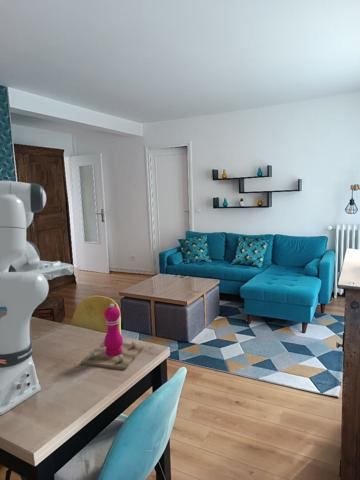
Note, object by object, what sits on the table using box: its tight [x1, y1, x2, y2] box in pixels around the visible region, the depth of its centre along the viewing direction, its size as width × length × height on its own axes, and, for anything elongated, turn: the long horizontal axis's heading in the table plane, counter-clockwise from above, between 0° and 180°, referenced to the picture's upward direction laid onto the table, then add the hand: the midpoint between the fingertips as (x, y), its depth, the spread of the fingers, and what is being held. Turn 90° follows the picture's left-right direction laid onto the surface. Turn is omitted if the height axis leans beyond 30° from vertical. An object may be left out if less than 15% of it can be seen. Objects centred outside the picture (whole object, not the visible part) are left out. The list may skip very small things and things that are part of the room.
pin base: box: [80, 340, 144, 371], centre depth 135 cm, size 18×18×4 cm
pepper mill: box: [103, 303, 124, 356], centre depth 134 cm, size 7×7×20 cm
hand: (61, 275), depth 143 cm, fingers open, 8 cm apart
